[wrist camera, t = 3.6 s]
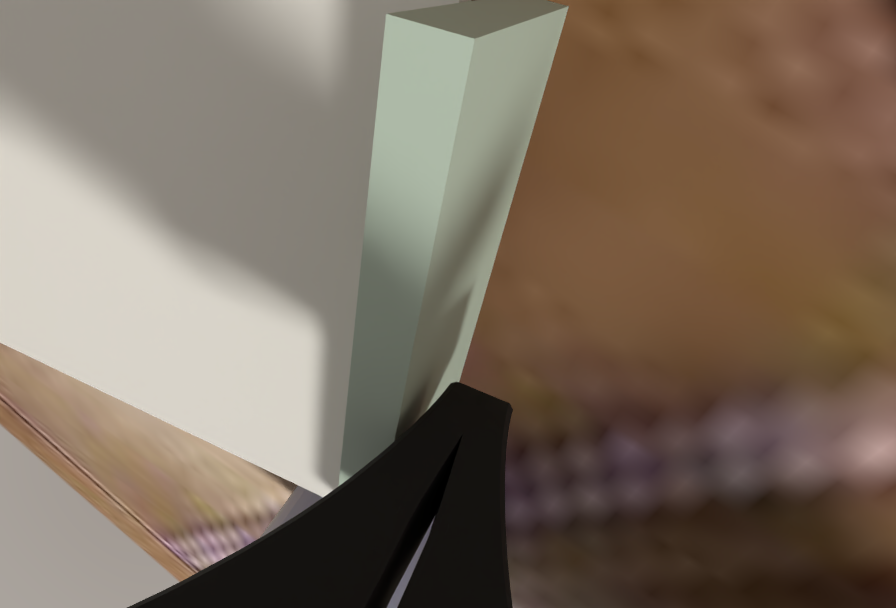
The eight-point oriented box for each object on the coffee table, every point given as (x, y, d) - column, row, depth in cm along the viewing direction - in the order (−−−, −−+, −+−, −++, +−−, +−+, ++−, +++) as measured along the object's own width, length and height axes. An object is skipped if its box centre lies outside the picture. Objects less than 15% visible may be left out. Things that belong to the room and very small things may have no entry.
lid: (438, 452, 18) (359, 617, 14) (25, 270, 22) (-152, 352, 17) (568, 6, 10) (475, 38, 5) (-148, -182, 13) (-601, -265, 8)
